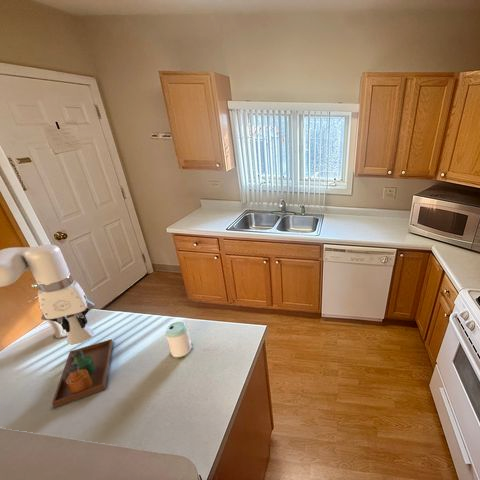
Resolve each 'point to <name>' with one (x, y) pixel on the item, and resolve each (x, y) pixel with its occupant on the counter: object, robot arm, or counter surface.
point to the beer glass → (57, 328)
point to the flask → (77, 330)
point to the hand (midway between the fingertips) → (76, 327)
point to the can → (178, 339)
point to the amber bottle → (78, 379)
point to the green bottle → (84, 361)
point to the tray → (99, 377)
